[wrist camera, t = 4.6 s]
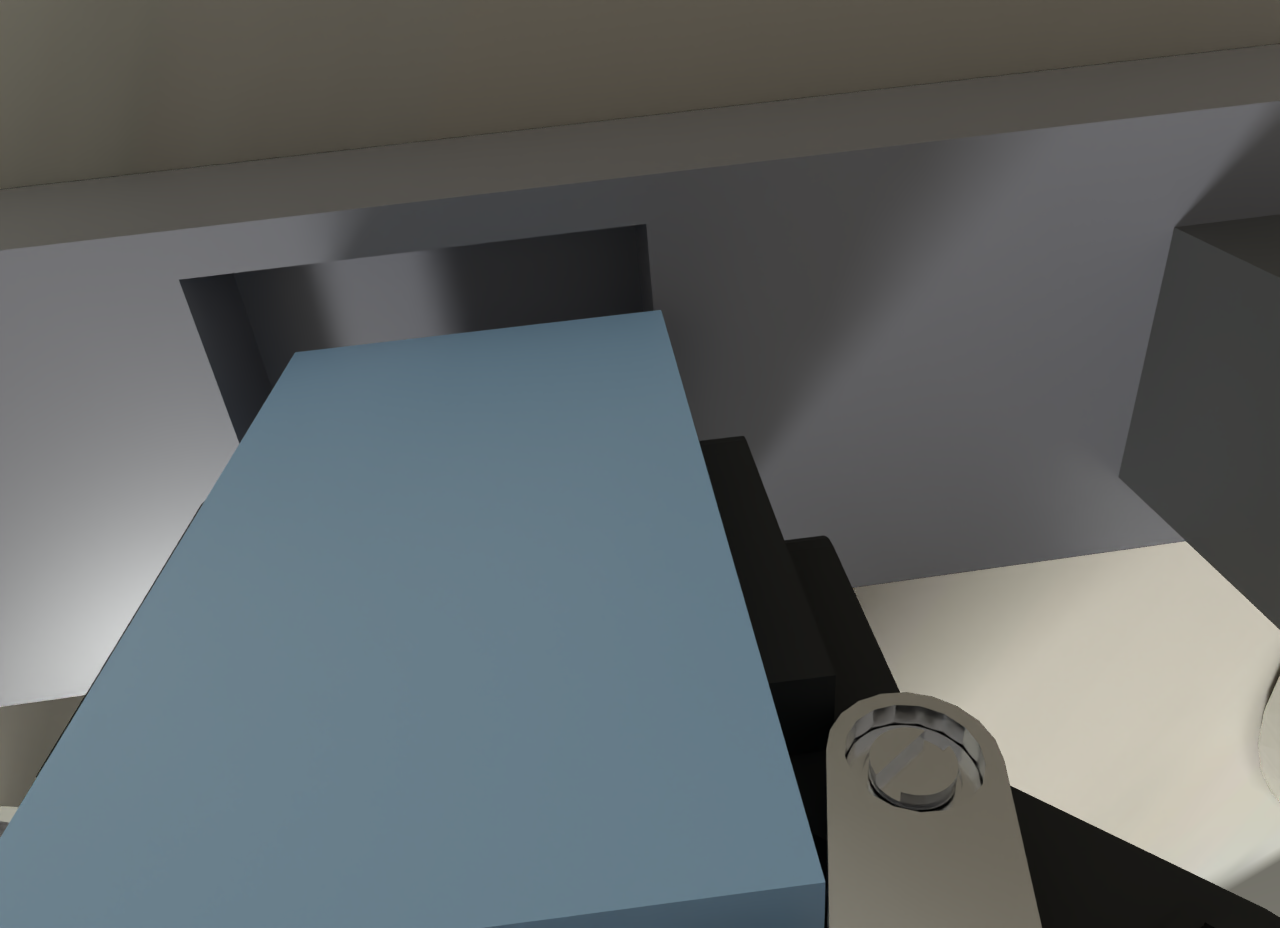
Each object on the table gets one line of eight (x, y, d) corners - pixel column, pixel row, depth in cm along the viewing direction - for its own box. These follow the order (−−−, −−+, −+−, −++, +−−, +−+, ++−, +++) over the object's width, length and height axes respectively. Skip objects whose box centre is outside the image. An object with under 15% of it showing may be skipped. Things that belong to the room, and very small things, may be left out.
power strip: (1979, -36, 15) (2957, -4, 9) (1750, 345, 19) (2337, 552, 13) (-171, 209, 14) (-738, 448, 7) (33, 574, 17) (-237, 937, 11)
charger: (660, 309, 11) (824, 881, 5) (684, 595, 14) (817, 1256, 7) (294, 352, 11) (-101, 1006, 4) (381, 632, 14) (209, 1342, 7)
